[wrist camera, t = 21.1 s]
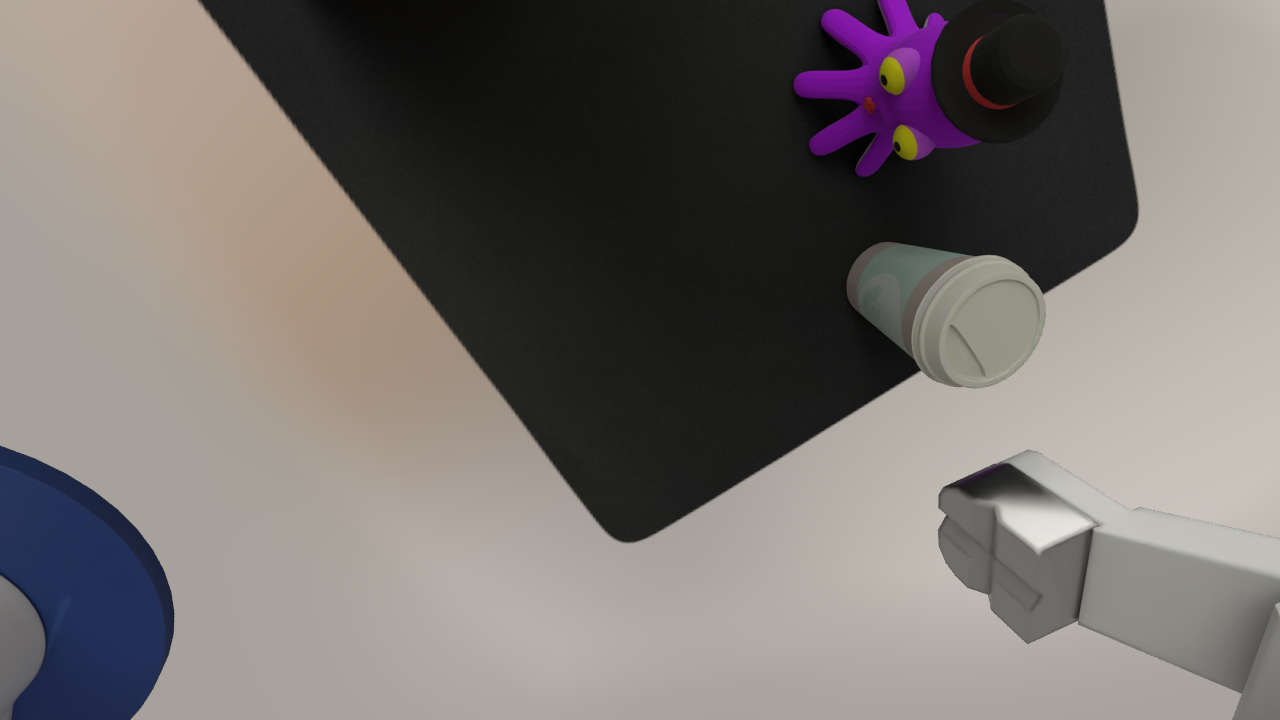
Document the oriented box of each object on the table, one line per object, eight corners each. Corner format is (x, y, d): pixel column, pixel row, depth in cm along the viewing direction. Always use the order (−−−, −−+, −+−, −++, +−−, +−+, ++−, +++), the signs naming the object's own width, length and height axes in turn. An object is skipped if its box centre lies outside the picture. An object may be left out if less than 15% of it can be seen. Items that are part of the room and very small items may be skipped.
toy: (776, 33, 43) (926, 12, 30) (927, -36, 44) (1140, -86, 30) (819, 195, 48) (964, 240, 34) (954, 131, 49) (1147, 151, 35)
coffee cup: (826, 237, 49) (932, 281, 38) (931, 212, 51) (1061, 248, 40) (831, 344, 53) (929, 411, 42) (928, 318, 54) (1047, 377, 44)
